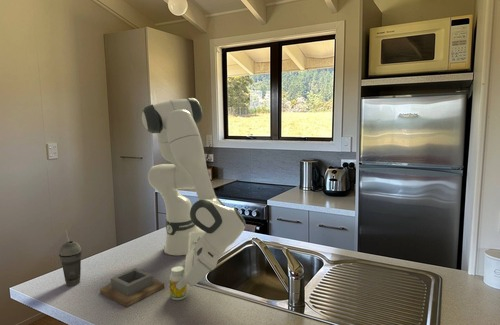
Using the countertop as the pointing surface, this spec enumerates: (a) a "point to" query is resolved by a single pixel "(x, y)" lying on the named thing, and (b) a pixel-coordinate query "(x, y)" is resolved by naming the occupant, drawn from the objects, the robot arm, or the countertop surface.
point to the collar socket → (131, 287)
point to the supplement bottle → (174, 279)
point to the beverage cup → (71, 261)
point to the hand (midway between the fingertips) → (178, 280)
